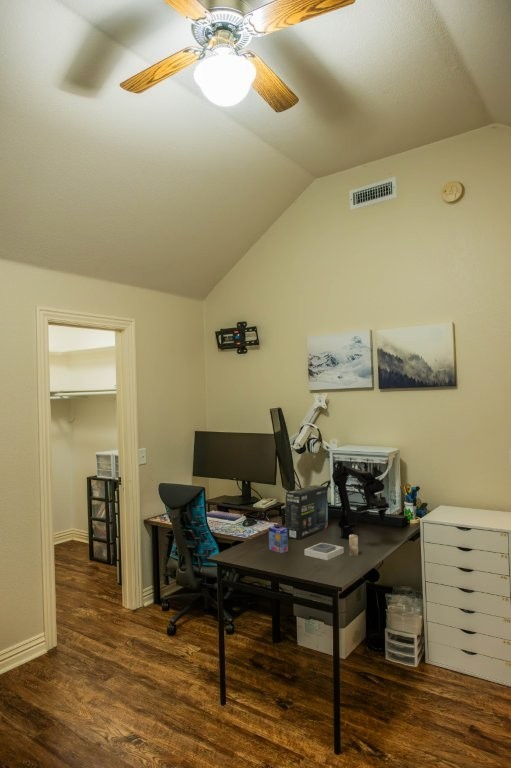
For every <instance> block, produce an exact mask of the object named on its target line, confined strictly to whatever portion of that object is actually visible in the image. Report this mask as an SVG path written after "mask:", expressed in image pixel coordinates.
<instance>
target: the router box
mask: <svg viewBox="0 0 511 768" xmlns="http://www.w3.org/2000/svg"><path fill="white" fill-rule="evenodd" d="M284 496H285V528H287V530H288V539H296V540H302V539H305V538H307V537H309V536H312V535H314V534H317V533H319V532H322V531H324V530H326V529H328V527H329V524H328V523H329V521H328V518H329V515H328V513H329V511H328V509H329V507H328V503H329V502H328V486H325V485H316V484H314V485H313V484H312V485H309V486H307V487H302V488H299V489H294V490H291V491H287V492H285V493H284Z"/></svg>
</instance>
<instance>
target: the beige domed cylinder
mask: <svg viewBox="0 0 511 768" xmlns="http://www.w3.org/2000/svg"><path fill="white" fill-rule="evenodd" d="M348 543H349V547H348V548H349V556H351V557H358V556H359V535H358V534H354V535H349V539H348Z"/></svg>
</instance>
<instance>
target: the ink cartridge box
mask: <svg viewBox="0 0 511 768" xmlns="http://www.w3.org/2000/svg"><path fill="white" fill-rule="evenodd" d="M288 539H289V537H288V530H287V528H286V527H283V526H282V527H281V526H280V525H279V524H278V523H273V525H272V526H269V527H268V550H270V551H273V552H276V553H280V554H284V553H287V552H289V540H288Z"/></svg>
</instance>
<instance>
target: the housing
mask: <svg viewBox="0 0 511 768" xmlns="http://www.w3.org/2000/svg"><path fill="white" fill-rule="evenodd" d="M344 553H345V548H344V547H343V546H340V545H334V544H332V543H331V544H330V543H325V542H320V543H317V544H315V545H312V546H309V547H307V548H305V549H304V556H306V557H307V556H308V557H311V558H315V559H321V560H324V561H329V560H331V559H333V558H336V557H338V556H340V555H342V554H344Z"/></svg>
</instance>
